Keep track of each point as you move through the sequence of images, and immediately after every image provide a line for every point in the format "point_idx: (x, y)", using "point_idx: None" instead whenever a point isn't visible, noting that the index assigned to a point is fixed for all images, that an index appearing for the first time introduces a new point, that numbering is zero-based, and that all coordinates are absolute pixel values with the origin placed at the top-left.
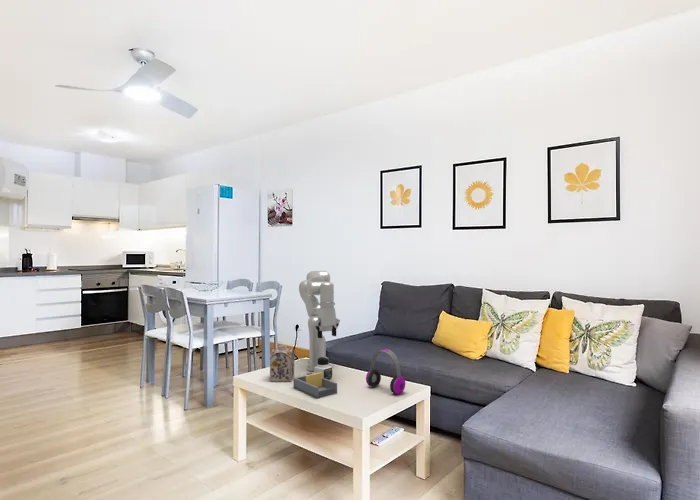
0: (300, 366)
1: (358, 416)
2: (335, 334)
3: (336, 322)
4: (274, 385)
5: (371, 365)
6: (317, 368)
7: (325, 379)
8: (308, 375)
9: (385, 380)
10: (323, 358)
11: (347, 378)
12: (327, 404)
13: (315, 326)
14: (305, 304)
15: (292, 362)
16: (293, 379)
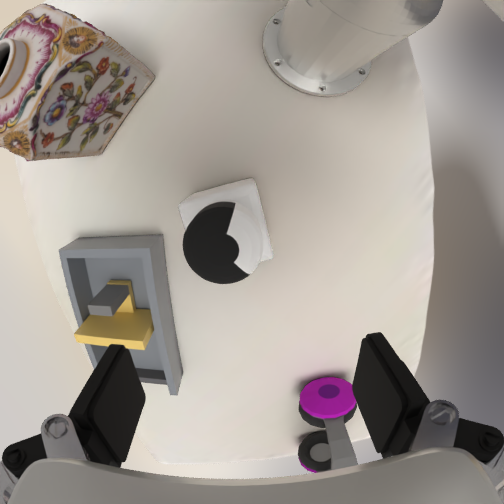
0: None
1: (157, 457)
2: (360, 403)
3: (492, 471)
4: (42, 167)
5: (330, 435)
6: (185, 230)
7: (159, 346)
8: (82, 341)
9: None
10: (211, 268)
11: (330, 265)
12: None
13: (11, 473)
14: None
15: (88, 105)
16: (61, 248)
